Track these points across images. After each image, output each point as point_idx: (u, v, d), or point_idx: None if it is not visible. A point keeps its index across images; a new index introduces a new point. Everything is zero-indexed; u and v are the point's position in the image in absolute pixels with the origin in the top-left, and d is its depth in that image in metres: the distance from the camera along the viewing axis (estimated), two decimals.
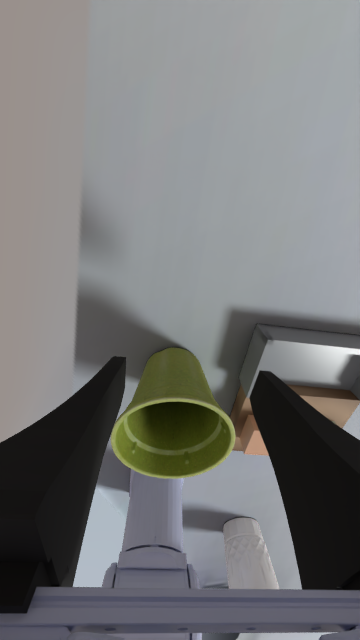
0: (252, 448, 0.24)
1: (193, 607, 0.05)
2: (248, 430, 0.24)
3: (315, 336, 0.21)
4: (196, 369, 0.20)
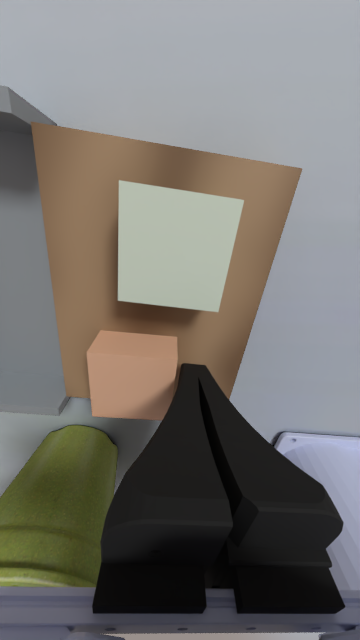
0: (150, 409, 0.11)
1: (193, 607, 0.05)
2: None
3: None
4: (16, 476, 0.14)
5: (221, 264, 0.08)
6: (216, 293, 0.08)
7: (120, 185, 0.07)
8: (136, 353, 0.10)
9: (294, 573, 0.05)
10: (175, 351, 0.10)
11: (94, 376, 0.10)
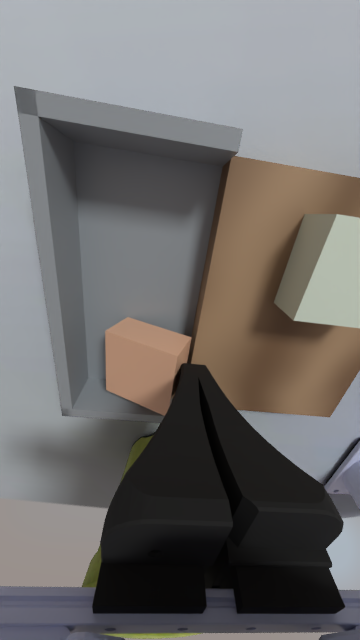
0: (151, 400, 0.12)
1: (193, 607, 0.05)
2: None
3: None
4: None
5: None
6: None
7: (337, 218, 0.07)
8: (144, 341, 0.11)
9: (294, 573, 0.05)
10: (180, 349, 0.10)
11: (109, 353, 0.11)
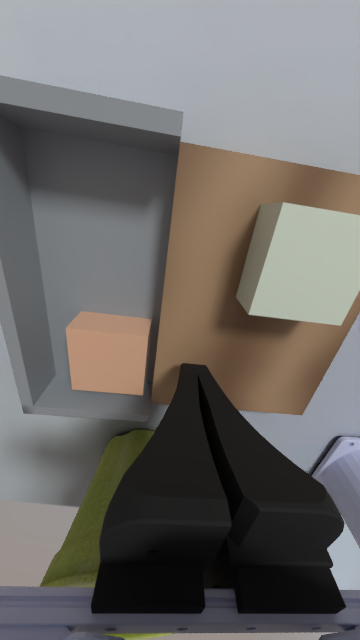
0: (125, 384, 0.12)
1: (193, 606, 0.05)
2: None
3: None
4: (94, 480, 0.15)
5: (356, 281, 0.08)
6: (344, 308, 0.09)
7: (283, 207, 0.07)
8: (111, 330, 0.11)
9: (295, 573, 0.05)
10: (147, 330, 0.11)
11: (73, 350, 0.11)
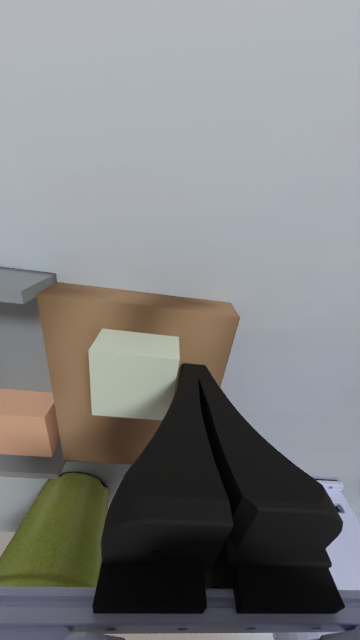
0: (35, 449, 0.15)
1: (193, 607, 0.05)
2: None
3: None
4: (22, 522, 0.17)
5: (168, 393, 0.11)
6: (166, 410, 0.11)
7: (89, 353, 0.09)
8: (15, 412, 0.13)
9: (294, 573, 0.05)
10: (48, 409, 0.14)
11: None
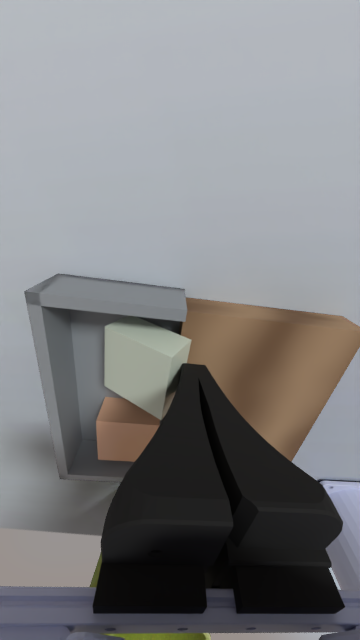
0: None
1: (193, 607, 0.05)
2: None
3: None
4: None
5: (160, 390, 0.11)
6: (159, 407, 0.11)
7: (105, 329, 0.11)
8: (130, 420, 0.14)
9: (293, 573, 0.05)
10: None
11: (100, 435, 0.14)
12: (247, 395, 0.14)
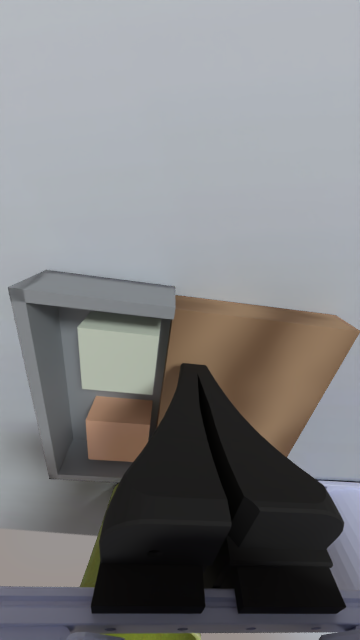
0: (131, 455, 0.15)
1: (193, 607, 0.05)
2: None
3: None
4: None
5: (150, 368, 0.12)
6: (149, 384, 0.12)
7: (78, 330, 0.11)
8: (121, 419, 0.14)
9: (294, 573, 0.05)
10: (149, 416, 0.14)
11: (90, 434, 0.14)
12: (238, 395, 0.13)
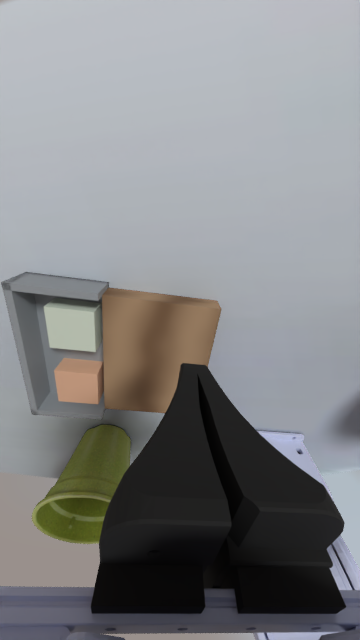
0: (87, 398, 0.22)
1: (193, 607, 0.05)
2: None
3: None
4: (73, 454, 0.25)
5: (91, 333, 0.19)
6: (92, 344, 0.19)
7: (44, 308, 0.18)
8: (78, 370, 0.21)
9: (295, 573, 0.05)
10: (98, 370, 0.21)
11: (58, 381, 0.21)
12: (154, 353, 0.20)
